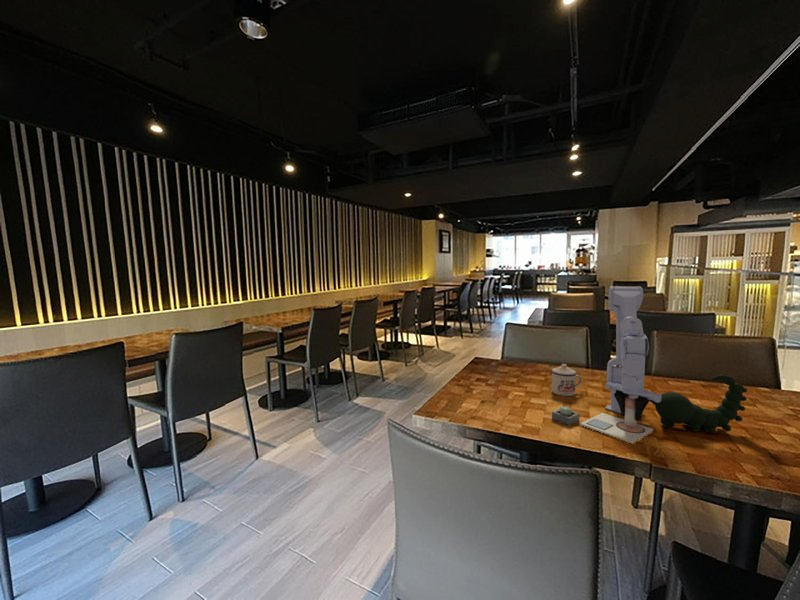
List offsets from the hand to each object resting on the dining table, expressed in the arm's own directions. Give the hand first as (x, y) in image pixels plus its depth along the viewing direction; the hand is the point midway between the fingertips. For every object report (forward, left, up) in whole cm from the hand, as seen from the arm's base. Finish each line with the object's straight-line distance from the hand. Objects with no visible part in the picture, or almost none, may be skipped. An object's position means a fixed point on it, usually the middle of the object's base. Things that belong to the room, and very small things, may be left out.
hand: (630, 417), depth 106 cm
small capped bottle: (0, 0, -2) cm, 2 cm away
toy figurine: (-16, +11, -4) cm, 20 cm away
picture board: (+3, -3, -4) cm, 6 cm away
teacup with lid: (-15, -29, -4) cm, 34 cm away
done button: (+9, -16, -2) cm, 18 cm away
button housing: (+10, -15, -4) cm, 19 cm away
